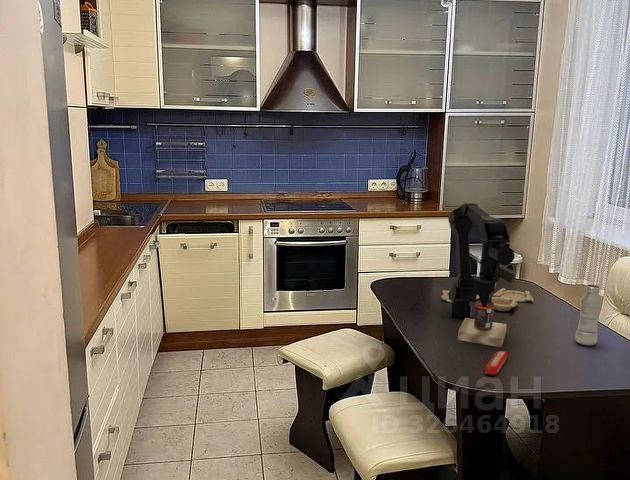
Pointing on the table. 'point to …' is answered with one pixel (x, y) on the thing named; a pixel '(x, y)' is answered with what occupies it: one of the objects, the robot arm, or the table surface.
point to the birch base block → (482, 333)
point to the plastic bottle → (589, 316)
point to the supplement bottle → (484, 315)
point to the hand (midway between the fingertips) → (486, 302)
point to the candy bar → (496, 363)
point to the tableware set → (501, 298)
